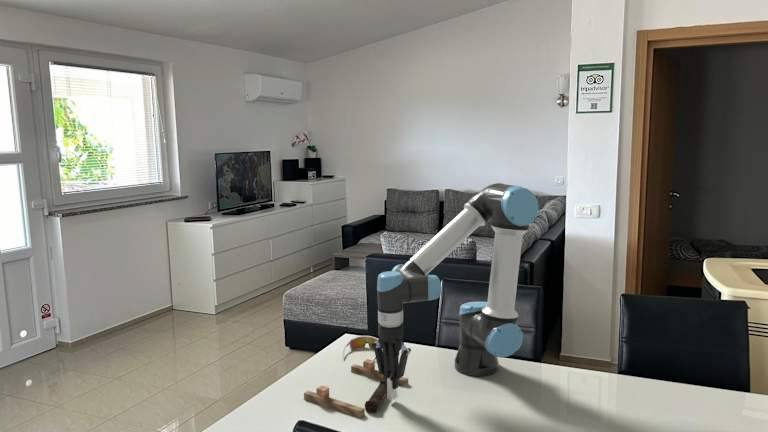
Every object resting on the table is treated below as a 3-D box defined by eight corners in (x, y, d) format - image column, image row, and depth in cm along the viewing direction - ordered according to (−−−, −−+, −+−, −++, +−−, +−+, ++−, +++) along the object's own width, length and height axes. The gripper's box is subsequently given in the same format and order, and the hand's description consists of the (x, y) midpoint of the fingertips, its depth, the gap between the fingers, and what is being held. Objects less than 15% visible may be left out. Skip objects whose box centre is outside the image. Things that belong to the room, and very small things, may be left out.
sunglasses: (385, 348, 219) (385, 336, 217) (376, 369, 205) (376, 357, 203) (350, 346, 222) (349, 334, 221) (338, 366, 208) (337, 354, 207)
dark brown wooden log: (377, 414, 168) (377, 400, 167) (364, 412, 169) (364, 398, 169) (396, 387, 186) (396, 373, 185) (385, 385, 187) (384, 372, 186)
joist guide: (408, 384, 187) (408, 369, 187) (360, 418, 166) (359, 401, 165) (355, 369, 200) (354, 355, 199) (303, 399, 178) (302, 384, 177)
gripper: (365, 323, 172) (367, 397, 175) (402, 331, 165) (403, 408, 168) (379, 316, 178) (381, 388, 182) (415, 323, 171) (416, 398, 174)
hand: (391, 397), depth 175 cm, fingers closed
